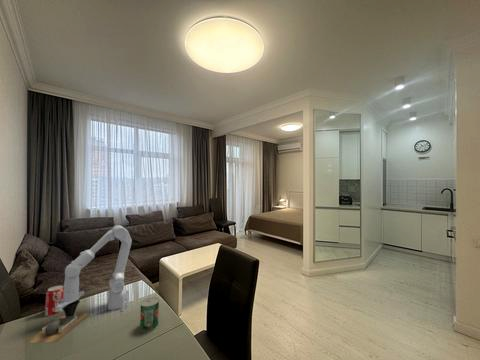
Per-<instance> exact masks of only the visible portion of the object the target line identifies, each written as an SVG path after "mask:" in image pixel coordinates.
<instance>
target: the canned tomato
mask: <svg viewBox="0 0 480 360" xmlns="http://www.w3.org/2000/svg"><path fill="white" fill-rule="evenodd" d="M159 303H160V299H159V298H158V297H155V296H154V297H153V296H151V297H146V298H145V299H143V300H141V302H140V312H139V313H140V316H139V317H140V318H139V329H140V331H141V330H142V331H141V332H143V331H148V332H151V331H153V330H155V329H156V328H158V326H159V315H160V314H159V309H160V308H159V307H160V304H159ZM150 330H151V331H150Z"/></svg>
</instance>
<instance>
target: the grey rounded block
mask: <svg viewBox="0 0 480 360" xmlns="http://www.w3.org/2000/svg"><path fill="white" fill-rule="evenodd" d="M59 324H60V320H59V319H57V320H55V319H52V320H51V321H48V322H47V324H46V325H47V336H52V335H55V334H57V333H58V330H59Z"/></svg>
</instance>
